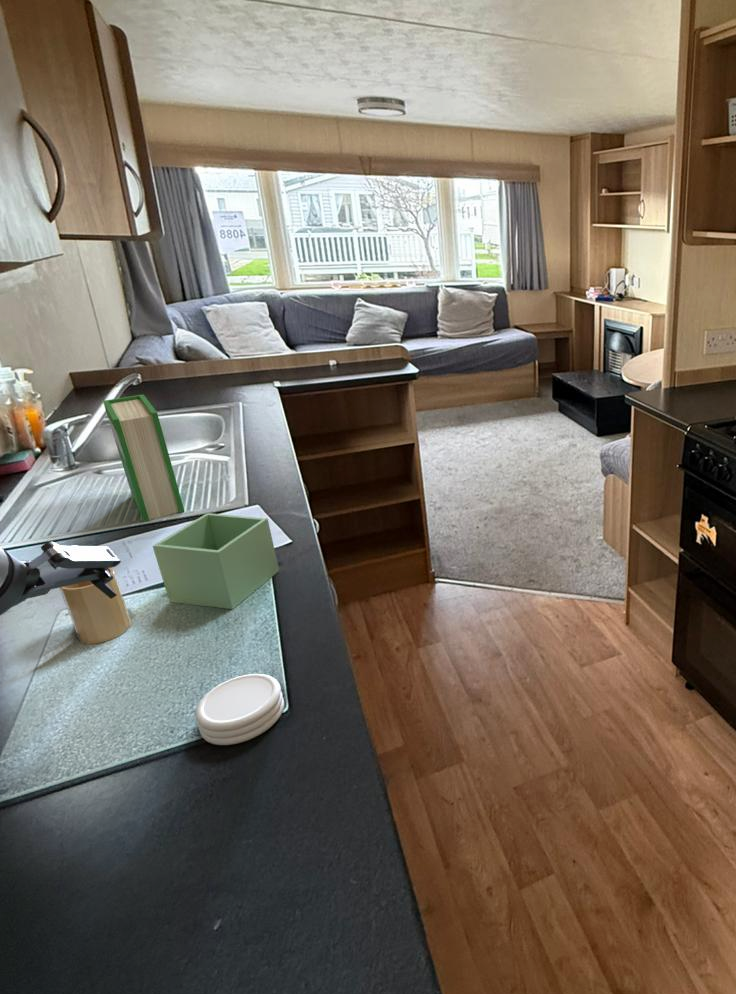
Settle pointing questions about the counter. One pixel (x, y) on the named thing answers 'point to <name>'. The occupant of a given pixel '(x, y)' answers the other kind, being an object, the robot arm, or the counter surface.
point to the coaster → (239, 709)
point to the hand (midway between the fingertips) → (51, 626)
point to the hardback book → (144, 456)
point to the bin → (217, 560)
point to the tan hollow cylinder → (96, 611)
